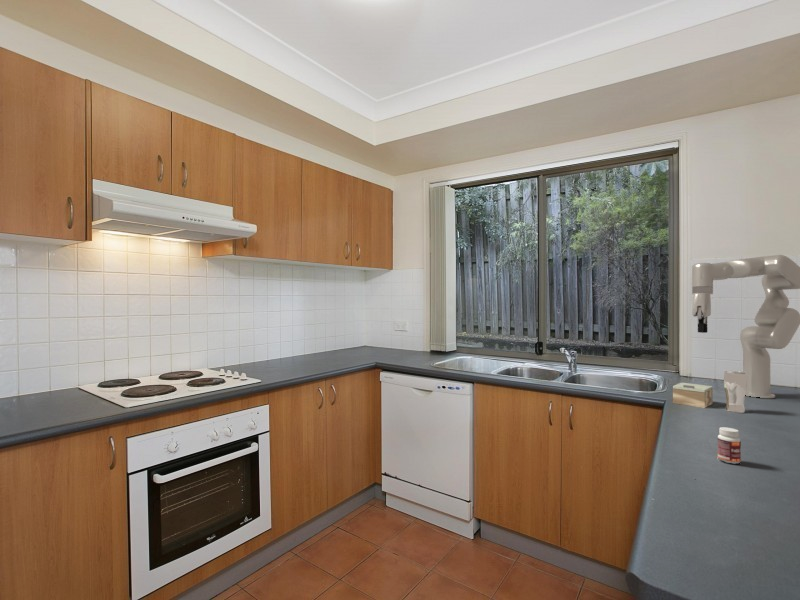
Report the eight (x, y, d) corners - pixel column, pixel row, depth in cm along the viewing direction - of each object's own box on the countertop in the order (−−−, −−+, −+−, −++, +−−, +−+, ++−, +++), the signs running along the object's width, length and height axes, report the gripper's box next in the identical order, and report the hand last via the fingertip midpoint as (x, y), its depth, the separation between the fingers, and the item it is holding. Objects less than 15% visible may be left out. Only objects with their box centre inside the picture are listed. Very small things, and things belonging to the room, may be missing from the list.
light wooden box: (681, 399, 183) (681, 385, 183) (712, 403, 174) (712, 389, 175) (672, 403, 175) (672, 388, 175) (704, 408, 167) (704, 392, 167)
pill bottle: (735, 466, 106) (735, 433, 106) (713, 460, 110) (713, 428, 110) (744, 463, 108) (744, 430, 108) (723, 457, 112) (723, 425, 112)
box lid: (681, 384, 183) (681, 380, 183) (712, 388, 175) (712, 384, 175) (672, 388, 175) (672, 383, 175) (704, 392, 167) (704, 387, 167)
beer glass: (726, 411, 161) (725, 372, 161) (722, 408, 167) (722, 370, 167) (749, 414, 157) (748, 374, 158) (744, 410, 164) (744, 371, 164)
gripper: (697, 291, 193) (697, 331, 193) (687, 290, 183) (687, 332, 183) (717, 291, 187) (717, 332, 187) (708, 290, 177) (708, 333, 177)
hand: (702, 332), depth 185 cm, fingers closed
